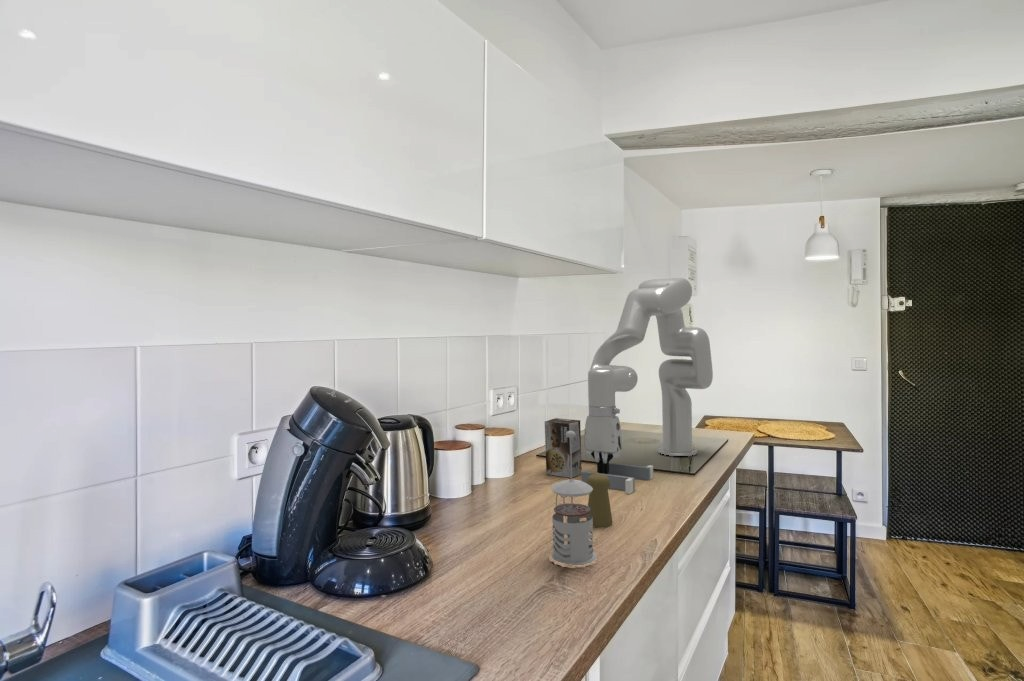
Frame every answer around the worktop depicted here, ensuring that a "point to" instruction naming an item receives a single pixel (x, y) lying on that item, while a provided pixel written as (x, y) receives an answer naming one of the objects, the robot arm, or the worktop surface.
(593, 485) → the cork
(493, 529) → the worktop surface
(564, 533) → the french press
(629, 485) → the pair of grey bars
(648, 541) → the worktop surface
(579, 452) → the coffee box
